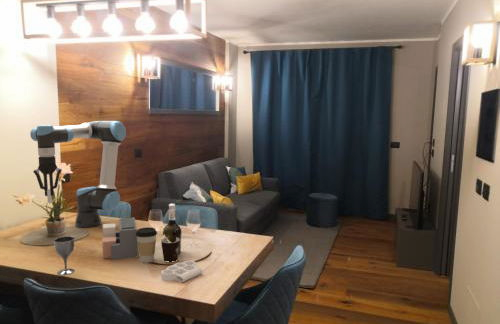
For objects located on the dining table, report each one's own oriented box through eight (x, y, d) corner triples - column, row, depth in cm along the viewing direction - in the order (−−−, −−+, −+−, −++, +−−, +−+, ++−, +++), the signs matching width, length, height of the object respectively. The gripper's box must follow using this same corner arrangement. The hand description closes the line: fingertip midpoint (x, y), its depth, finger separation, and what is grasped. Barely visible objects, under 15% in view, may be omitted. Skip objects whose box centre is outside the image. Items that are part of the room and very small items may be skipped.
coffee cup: (150, 255, 198) (150, 225, 196) (161, 260, 191) (161, 230, 189) (132, 260, 191) (131, 229, 189) (143, 266, 185) (142, 234, 183)
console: (111, 244, 213) (110, 218, 211) (135, 242, 216) (134, 216, 215) (111, 259, 192) (110, 230, 190) (137, 257, 196) (136, 228, 194)
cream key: (103, 246, 209) (103, 224, 207) (116, 245, 211) (115, 223, 209) (103, 251, 202) (102, 228, 201) (116, 250, 204) (115, 227, 203)
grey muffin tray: (177, 287, 165) (154, 277, 173) (207, 272, 179) (184, 265, 188) (177, 279, 164) (153, 270, 173) (207, 265, 178) (184, 258, 187)
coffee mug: (169, 265, 186) (169, 244, 185) (157, 260, 191) (157, 240, 190) (188, 257, 195) (187, 238, 194) (176, 253, 200) (175, 234, 199)
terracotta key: (103, 253, 200) (102, 237, 199) (116, 251, 202) (115, 236, 201) (103, 258, 193) (102, 242, 192) (116, 256, 195) (115, 240, 194)
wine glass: (53, 271, 177) (51, 239, 175) (71, 266, 183) (69, 235, 181) (60, 277, 172) (58, 243, 170) (78, 271, 178) (77, 238, 176)
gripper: (30, 157, 195) (34, 204, 198) (60, 156, 199) (62, 202, 203) (33, 155, 202) (36, 201, 206) (62, 154, 206) (64, 199, 210)
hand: (49, 202), depth 204 cm, fingers closed
